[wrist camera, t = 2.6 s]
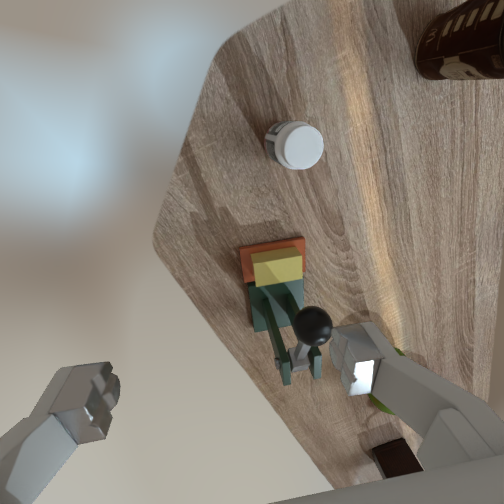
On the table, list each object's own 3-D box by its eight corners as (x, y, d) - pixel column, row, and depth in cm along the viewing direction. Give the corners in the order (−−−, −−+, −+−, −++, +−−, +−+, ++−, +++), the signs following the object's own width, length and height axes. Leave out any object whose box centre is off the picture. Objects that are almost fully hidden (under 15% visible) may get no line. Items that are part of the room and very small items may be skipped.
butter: (238, 247, 38) (241, 259, 34) (303, 236, 39) (312, 247, 35) (243, 280, 41) (246, 294, 37) (303, 269, 41) (312, 282, 38)
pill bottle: (292, 166, 33) (316, 179, 26) (258, 155, 32) (273, 166, 25) (306, 127, 31) (335, 130, 24) (270, 115, 30) (290, 114, 23)
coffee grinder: (407, 451, 80) (456, 532, 64) (374, 463, 80) (414, 546, 65) (405, 428, 73) (460, 513, 57) (369, 441, 73) (414, 529, 57)
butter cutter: (247, 282, 41) (263, 350, 29) (300, 272, 42) (339, 335, 30) (253, 327, 46) (270, 402, 34) (301, 318, 46) (334, 388, 34)
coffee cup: (466, 83, 32) (610, 64, 21) (404, 101, 32) (513, 92, 20) (480, -10, 28) (669, -98, 16) (408, 11, 28) (548, -64, 16)
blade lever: (290, 303, 23) (301, 343, 21) (328, 296, 23) (343, 334, 21) (280, 350, 35) (287, 378, 33) (305, 345, 35) (313, 373, 33)
